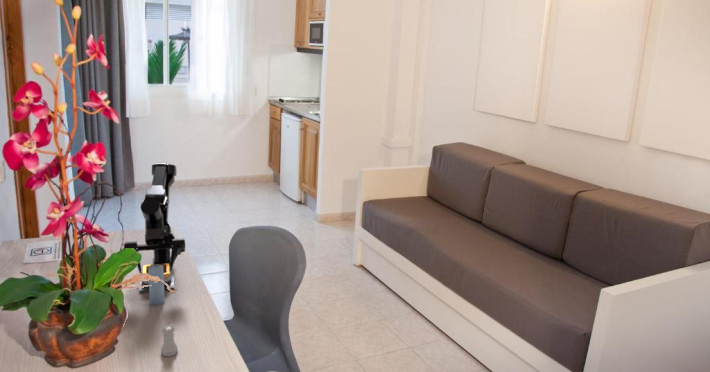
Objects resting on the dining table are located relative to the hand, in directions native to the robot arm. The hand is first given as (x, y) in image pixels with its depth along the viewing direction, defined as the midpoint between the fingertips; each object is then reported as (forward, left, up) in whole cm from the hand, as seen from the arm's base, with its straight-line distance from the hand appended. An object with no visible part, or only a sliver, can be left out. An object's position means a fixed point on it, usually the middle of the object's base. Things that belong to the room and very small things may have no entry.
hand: (155, 271), depth 183 cm
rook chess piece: (+32, +3, -10) cm, 34 cm away
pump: (+2, 0, -9) cm, 10 cm away
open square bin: (-10, 0, -9) cm, 14 cm away
